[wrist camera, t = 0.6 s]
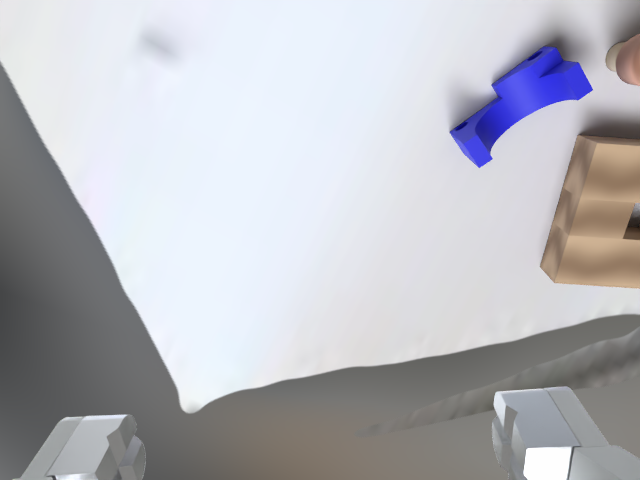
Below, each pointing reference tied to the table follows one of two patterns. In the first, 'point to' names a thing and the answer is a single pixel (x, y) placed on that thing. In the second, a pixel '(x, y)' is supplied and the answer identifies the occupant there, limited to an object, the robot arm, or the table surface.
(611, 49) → the peg
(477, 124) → the cable clip
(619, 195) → the board
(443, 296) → the table surface
